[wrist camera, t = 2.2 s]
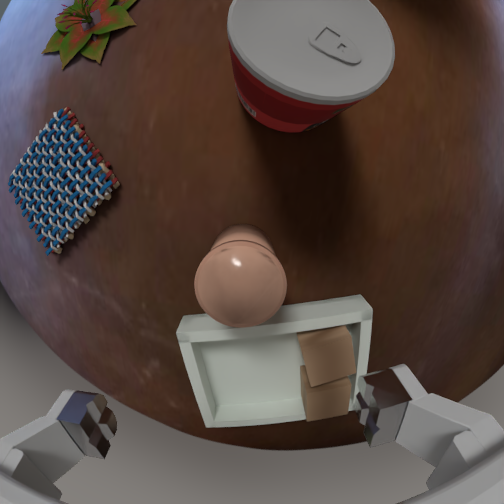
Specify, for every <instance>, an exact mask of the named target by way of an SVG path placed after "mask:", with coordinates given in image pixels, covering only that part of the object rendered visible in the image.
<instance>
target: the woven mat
mask: <svg viewBox="0 0 504 504" xmlns="http://www.w3.org/2000/svg"><path fill="white" fill-rule="evenodd" d="M70 110H71V109H70V107H67V108H65V109H64V111H63V109H60V110H59V112H58V114H56V112H55V113H54V118H53V119H51V121H50V122H49V126H48V124H46V128H44V129H43V131H41V130H40V131H39V133H40V135H39V139H38V136H36V141H34V142H33V144H32V145H31V146H32V147H31V150H30V147H29V148H28V152H27V153H25V154H24V157H23V159H21V160H20V164H19V165H17V166H16V171H15V170H14V171H13V174H11V176H10V179H9V183H8V185H9V186H11V187H10V189H9V192H10V193H11V192H12V191H13V189H14V188H15V194H14V197H15V198H17V197H18V198H17V199H16V201H15V203H16V205H17V204H18V203H19V202H20V204H21V203H22V205H21V207H20V208H21V209H22V210H23V209H25V210H24V211H23V212H22V216H23V217H24V216H25V215H26V213H28V215H29V217H28V219H27V220H28V222H30V221H33V220H34V221H33V222H32V223H31V224H30V226H29V228H30V229H32V228H33V227H34V226H35V228H36V227H37V229H36V231H35V233H36V234H37V235H38V234H40V233H41V232H42V234H41V235H40V236H39V237H38V238H37V241H38V242H40V241H41V239H42V241H43V240H44V239H45V238H46V237H47V238H46V240H45V243H44V244H43V246H44V247H48V246H49V245H50V244H51V247H50V248H49V249H48V250H47V251H46V252H45V253H46V254H47V256H48V255H49V254H50V252H52V253H54V252H56V253H58V254H60V253H61V251H62V248H61V247H60V245H61V243H64V242H65V243H66V242H67V240H68V239H67V238H70V239H73V237H74V230H73V228H74V227H75V229H77V228H79V226H80V224H81V222H80V221H82V222H83V221H84V223H85V224H87V223H88V222H89V220H90V219H89V218H88V216H87V215H86V214H89V215H90V216H94V215H95V213H96V211H95V209H93V208H96V207H97V206H96V205H97V204H98V206H99V205H100V204H101V203H102V202H103V201H102V200H103V199H106V200H109V199H110V198H111V192H112V189H111V187H112V186H114V188H115V189H116V188H117V187H118V186H119V185H120V184H119V182H118V178H117V177H115V176H114V175H113V171H112V170H109V169H108V168H109V166H110V163H109V161H108V162H106V163H105V162H104V161H103V157H102V156H100V155H99V154H98V153H99V149H95V148H94V146H95V145H94V144H93V143H91V142H90V138H89V137H88V136H86V132H85V131H84V130H82V129H83V127H84V126H83V124H81V125H80V126H79V124H78V122H77V121H78V120H77V119H76V118H74V116H75V114H74V112H73V113H71V111H70ZM82 147H83V148H82ZM71 149H72V150H71ZM91 160H92V162H90V161H91ZM96 166H97V168H96ZM89 175H90V176H89ZM65 178H66V179H65ZM107 179H108V180H109V181H108V182H106V180H107ZM93 181H95V182H94V183H93ZM98 188H100V191H98ZM74 191H76V192H74ZM84 191H86V193H84ZM73 192H74V193H73ZM79 197H80V198H79ZM90 197H91V199H90ZM78 198H79V200H78V202H77V199H78ZM101 199H102V200H101ZM57 200H58V201H57ZM56 201H57V202H56ZM55 202H56V203H55ZM82 205H83V208H82ZM61 206H62V207H61ZM60 207H61V209H60ZM51 208H52V209H51ZM41 209H42V210H41ZM59 209H60V210H59ZM40 210H41V211H40ZM64 214H65V216H63V215H64ZM53 216H54V217H53ZM43 218H44V219H43ZM59 221H60V222H59ZM48 223H49V224H48ZM68 223H70V224H68ZM47 224H48V225H47ZM62 230H63V231H62ZM51 231H52V232H51ZM56 236H57V239H56V238H55V237H56ZM63 240H64V242H63Z"/></svg>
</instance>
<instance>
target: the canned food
mask: <svg viewBox="0 0 504 504" xmlns="http://www.w3.org/2000/svg"><path fill="white" fill-rule="evenodd" d="M227 31H228V40H229V49H230V55H231V60H232V66H233V72H234V78H235V84H236V90H237V94H238V97H239V100H240V102H241V103H242V105H243V107H244V108H245V110H246V111H247V112H248V113H249V114H250V115H251V116H252V117H253V118H254V119H256V120H257V121H258V122H260V123H261V124H263V125H265V126H267V127H269V128H272V129H275V130H278V131H283V132H303V131H308V130H311V129H313V128H315V127H318V126H319V125H321V124H322V123H324V122H326V121H327V120H329V119H331V118H332V117H334V116H336V115H337V114H339V113H341V112H342V111H344V110H346V109H347V108H349V107H351V106H353V105H354V104H356V103H358V102H359V101H361V100H362V99H364V98H365V97H367V96H368V95H370V94H371V93H373V92H375V91H376V90H377V89H378V88H379V87H380V86H381V85H382V83H383V82H384V81H385V80H386V79H387V78H388V76H389V74H390V72H391V70H392V68H393V63H394V58H395V49H394V41H393V38H392V34H391V31H390V29H389V27H388V25H387V23H386V21H385V19H384V18H383V16H382V15H381V14H380V12H379V11H378V10H377V8H376V7H375V6H374V5H373V4H372V3H371V2H370V1H369V0H233V2H232V4H231V6H230V8H229V14H228V22H227Z"/></svg>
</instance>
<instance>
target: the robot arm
mask: <svg viewBox="0 0 504 504" xmlns="http://www.w3.org/2000/svg"><path fill="white" fill-rule="evenodd" d="M357 386H358V388H359V393H358V394H357V395H356V399H355V409H356V414H357V417H358V420H359V422H360V423H362V424H363V425H365V429H364V434H365V437H366V439H367V442H368V444H369V446H370V447H374V446H377V445H381V444H384V443H388V442H391V441H394V440H396V441H395V442H397V443H398V444H400V445H401V446H403V447H405V448H406V449H407V450H409V451H411V452H412V453H414V454H415V455H417V456H418V457H420V458H422V459H423V460H425V461H426V462H428V463H430V464H431V465H433V466H435V467H436V468H435V470H434V471H433V473H432V474H431V475H430V477H429V479H428V480H427V482H426V484H427V486H428V488H429V490H428V491H426V492H424V493H422V494H419V495H417V496H415V497H412V498H410V499H407V500H405V501H402V502H400V503H397V504H504V430H503V429H502V427H501V426H500V425H499V424H498V422H497V421H496V420H495V419H494V417H493V416H492V415H491V414H487V413H485V412H482V411H479V410H476V409H473V408H470V407H467V406H465V405H462V404H459V403H457V402H454V401H451V400H449V399H446V398H443V397H441V396H438V395H436V394H433V393H431V394H428V393H427V392H426V391H425V389H424V388H423V387H422V385H421V384H420V383H419V381H418V380H417V379H416V377H415V376H414V375H413V373H412V372H411V371H410V370H409V368H408V367H407V366H406V365H405V364H401V365H398V366H395V367H391V368H389V369H385V370H381V371H377V372H373V373H369V374H365V375H361V376H359V378H358V383H357ZM106 406H107V401H106V399H105V397H104V395H101V394H98V393H91V392H83V391H75V390H70V389H67V390H64V391H63V392H62V394H61V395H60V396H59V398H58V399H57V401H56V402H55V404H54V405H53V406H52V408H51V409H50V411H49V412H48V414H47V415H46V416H45V417H43V416H42V417H40V418H38V419H36V420H35V421H33V422H31V423H29V424H27V425H25V426H23V427H21V428H20V429H18V430H16V431H14V432H12V433H10V434H8V435H6V436H4V437H2V438H0V504H67V503H65V502H62V501H60V498H61V495H62V493H61V491H60V490H59V489H58V488H57V487H56V486H55V485H54V484H53V483H54V482H55V481H57V480H58V479H59V478H60V477H61V476H62V475H64V474H65V473H66V472H67V471H69V470H70V469H71V468H72V467H73V466H74V465H76V464H77V463H78V462H79V461H80V460H81V459H83V458H84V457H85V455H86V456H91V457H96V458H101V459H105V457H106V455H107V452H108V450H109V448H110V443H109V439H111V438H112V437H114V435H115V433H116V430H117V421H116V417H115V415H114V413H113V412H112V411H111V410H110V409H109V408H108V407H106Z"/></svg>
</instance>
